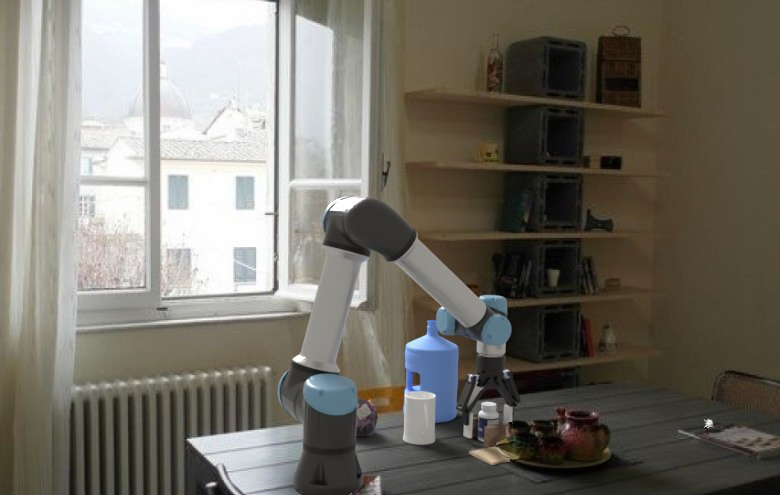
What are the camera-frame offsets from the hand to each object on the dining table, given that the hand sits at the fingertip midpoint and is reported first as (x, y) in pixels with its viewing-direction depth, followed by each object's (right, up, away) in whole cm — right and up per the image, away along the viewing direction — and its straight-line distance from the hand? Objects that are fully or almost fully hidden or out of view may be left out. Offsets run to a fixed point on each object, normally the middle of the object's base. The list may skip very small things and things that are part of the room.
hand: (487, 433), depth 202 cm
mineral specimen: (-34, -1, +2) cm, 34 cm away
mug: (-18, -2, -3) cm, 18 cm away
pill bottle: (0, -2, 0) cm, 2 cm away
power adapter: (+64, -3, +15) cm, 66 cm away
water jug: (-14, 0, +21) cm, 25 cm away
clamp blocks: (0, -2, 0) cm, 2 cm away
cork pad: (0, -3, -13) cm, 13 cm away
